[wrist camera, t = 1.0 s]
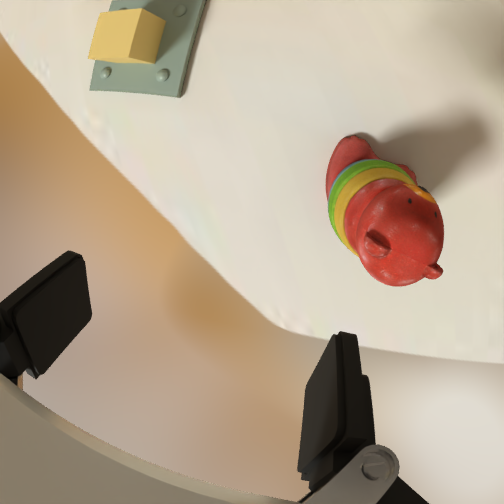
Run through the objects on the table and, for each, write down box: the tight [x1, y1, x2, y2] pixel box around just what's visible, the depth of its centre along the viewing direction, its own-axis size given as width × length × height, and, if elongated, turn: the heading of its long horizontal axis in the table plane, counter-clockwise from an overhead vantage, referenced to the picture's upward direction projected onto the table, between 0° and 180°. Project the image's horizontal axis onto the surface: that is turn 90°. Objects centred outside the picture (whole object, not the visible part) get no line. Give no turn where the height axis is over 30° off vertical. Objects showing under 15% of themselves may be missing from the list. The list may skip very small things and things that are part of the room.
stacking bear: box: [326, 136, 444, 286], centre depth 24 cm, size 11×10×18 cm
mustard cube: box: [88, 8, 166, 64], centre depth 25 cm, size 6×6×6 cm
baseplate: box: [90, 0, 206, 98], centre depth 28 cm, size 14×14×1 cm
